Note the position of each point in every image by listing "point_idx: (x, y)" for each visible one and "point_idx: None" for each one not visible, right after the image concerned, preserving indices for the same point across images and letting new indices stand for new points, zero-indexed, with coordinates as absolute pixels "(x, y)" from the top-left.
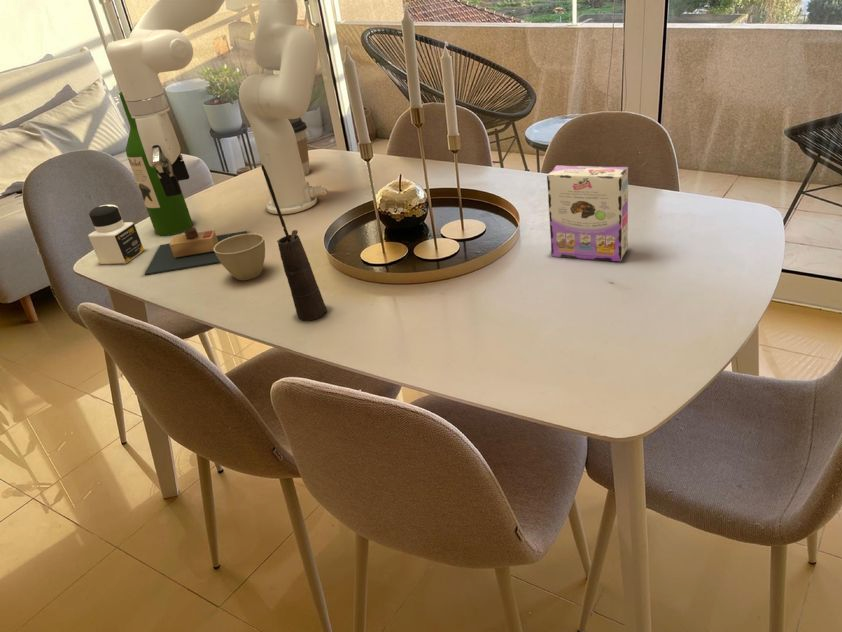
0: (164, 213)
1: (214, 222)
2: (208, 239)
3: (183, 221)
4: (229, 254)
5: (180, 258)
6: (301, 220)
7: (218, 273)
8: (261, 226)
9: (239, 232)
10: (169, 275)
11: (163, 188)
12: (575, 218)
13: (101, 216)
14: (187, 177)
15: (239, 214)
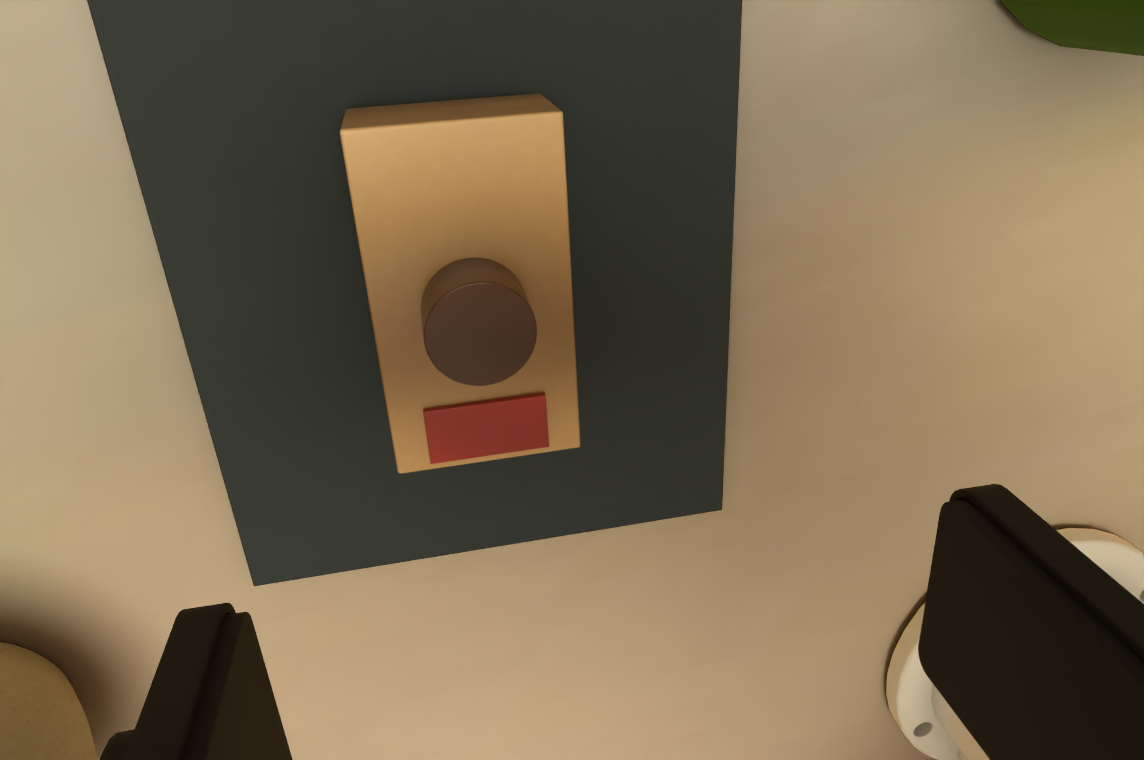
0: None
1: (1043, 221)
2: (394, 449)
3: (1064, 21)
4: None
5: None
6: (759, 737)
7: (39, 512)
8: (781, 560)
9: (715, 473)
10: (36, 135)
11: (138, 723)
12: None
13: None
14: (930, 666)
15: (1083, 367)
